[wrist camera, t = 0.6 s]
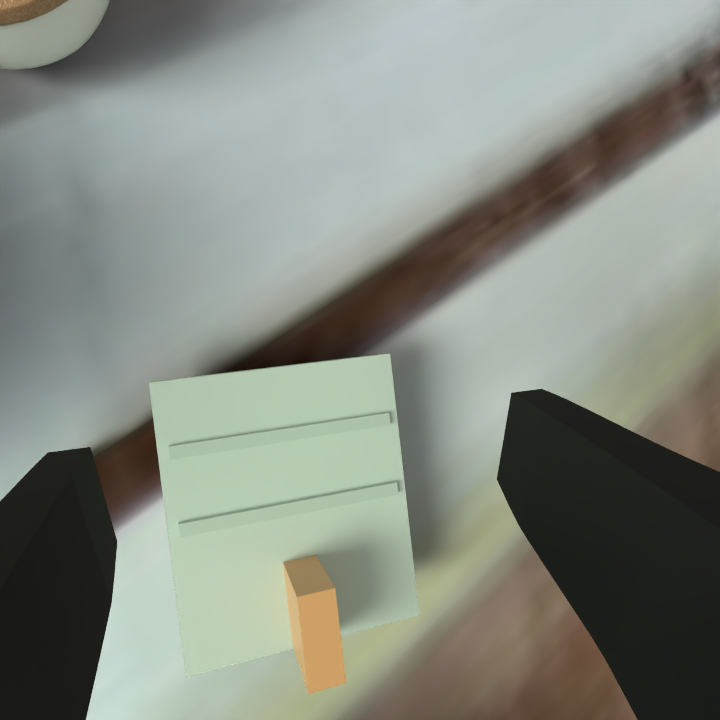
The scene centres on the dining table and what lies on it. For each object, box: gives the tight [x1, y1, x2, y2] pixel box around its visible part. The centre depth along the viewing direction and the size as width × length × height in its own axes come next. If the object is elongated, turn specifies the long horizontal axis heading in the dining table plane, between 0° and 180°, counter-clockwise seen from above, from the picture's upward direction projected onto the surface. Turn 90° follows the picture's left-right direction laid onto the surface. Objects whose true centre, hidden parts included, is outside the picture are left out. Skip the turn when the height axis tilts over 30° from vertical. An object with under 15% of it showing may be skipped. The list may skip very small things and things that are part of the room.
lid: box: [149, 354, 419, 694], centre depth 25 cm, size 13×11×6 cm
